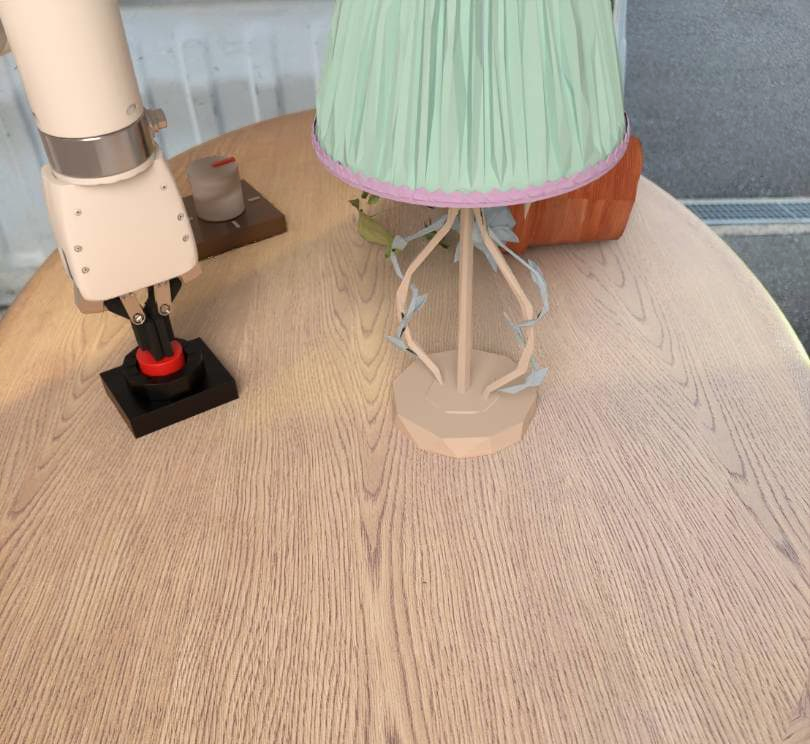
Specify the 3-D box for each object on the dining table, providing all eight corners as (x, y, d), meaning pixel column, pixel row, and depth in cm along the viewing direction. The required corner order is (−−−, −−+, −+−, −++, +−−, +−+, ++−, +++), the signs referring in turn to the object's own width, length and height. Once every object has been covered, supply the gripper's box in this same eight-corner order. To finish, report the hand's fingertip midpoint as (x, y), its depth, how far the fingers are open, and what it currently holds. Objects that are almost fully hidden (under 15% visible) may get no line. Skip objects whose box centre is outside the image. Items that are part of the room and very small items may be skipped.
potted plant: (602, 222, 103) (305, 203, 102) (636, 89, 91) (299, 66, 90) (618, 303, 93) (289, 283, 92) (658, 167, 81) (281, 142, 80)
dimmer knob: (208, 226, 97) (198, 180, 94) (188, 206, 101) (178, 161, 97) (253, 212, 99) (245, 166, 95) (232, 193, 103) (224, 148, 99)
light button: (150, 386, 77) (145, 370, 75) (134, 363, 79) (129, 347, 78) (193, 370, 78) (188, 354, 77) (176, 348, 80) (171, 332, 79)
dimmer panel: (199, 261, 97) (194, 243, 95) (162, 221, 103) (157, 203, 101) (287, 231, 100) (284, 214, 99) (246, 194, 107) (243, 177, 105)
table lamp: (619, 375, 81) (721, -179, 51) (527, 529, 68) (593, -86, 38) (412, 317, 88) (397, -196, 58) (295, 447, 75) (199, -123, 46)
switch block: (136, 439, 77) (123, 404, 74) (105, 392, 81) (92, 357, 78) (239, 398, 80) (231, 363, 77) (204, 355, 85) (195, 320, 82)
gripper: (174, 100, 68) (219, 304, 82) (-19, 151, 63) (63, 359, 77) (213, 134, 64) (253, 343, 77) (10, 191, 59) (91, 404, 72)
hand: (158, 350), depth 77 cm, fingers closed
